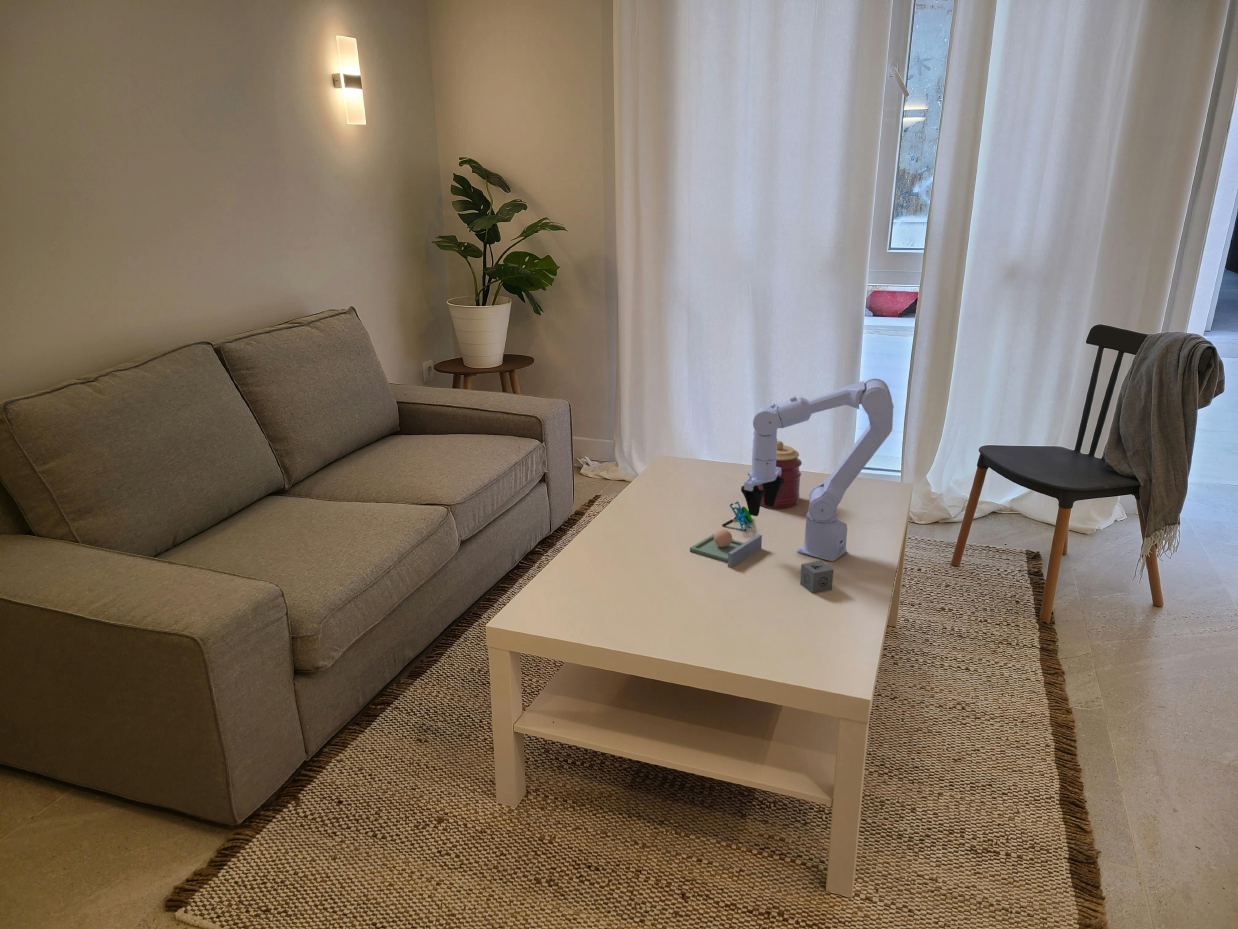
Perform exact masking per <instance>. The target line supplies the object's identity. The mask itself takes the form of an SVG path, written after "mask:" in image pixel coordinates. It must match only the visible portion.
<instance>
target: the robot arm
mask: <svg viewBox="0 0 1238 929" xmlns="http://www.w3.org/2000/svg"><path fill="white" fill-rule="evenodd" d="M860 405H862V406H861V407H862V409H863V410H864V412H865V413H866V414H867V416H868V421H869V422H868V423H869V425H868V426H867V427H866V428H865V430H864V431H863V433H862V434H861V435H860V436H859V438H858V439H857V440H856V442H855V443H853V446H852V447H851V448H850V449H849V450H848V452H847V453H846V454H845V456H844V457H843V458H842V460H841V461H840V463H839V464H838V465H837V466H836V467H835V469H834V470H833V472H832V473H831V474H830V475H829V476H828V477H827V478H825V479H824V480H823V482H822V483H820V484H819V485H817V486H816V485H815V486H814V487H813V488H812V490H811V491H810V493H809V505H808V511H807V512H806V515H805V516H806V517H805V530H804V531H805V533H804V542H803V543H804V545H802V546H801V547H800V548H797V553H798V554H799V553H800V554H803V555H807V556H812V557H813V558H814V557H815V558H816V559H817V558H818V559H822V560H824V561H825V560H826V561H828V562H832V563H833V562H835V561H836V560H837V559H838V558H840V557H841V556H843V555H845V553H846V552H847V548H846V547H847V539H848V524H847V523H846V522H844V521H843V520H842V521H841V520H840V519H839V518H838V515H837V514H838V513H837V508H838V506H839V504H840V503H841V501H842V499H843V498H844V495H845V493H846V491H847V490H848V488H849V487H850V486H851V484H852V483H853V482H854V481H855V479H856V478H857V477H858V475H859V474H860V473H861V472H862V470H863V469H864V468H865V466H866V465H867V464H868V463H869V461H870V460H871V459H872V458H873V457H874V455H875V454H876V452H877V451H878V450H879V449H880V447H881V446H882V445H883V443H885V441H887V440H886V439H887V438H889V436H890V434H891V433H892V432H893V426H894V424H893V422H894V420H893V419H894V403H893V400H892V395H891V392H890V388H889V386H888V384H887V383H886V382H885V381H884V380H882V379H880V378H870V379H868V380H865V381H864V380H863V381H857V382H854V383H852V384H849V385H847V386H844V387H841V388H838V389H835V390H833V391H830V392H827V393H825V394H822V395H819V396H816V397H813V398H811V399H807V398H805V397H803V396H800V397H796V395H794V396H791V397H789V400H787V401H784V402H781V403H776V404H775V403H771V404H770V405H769V406H762V407H760V408H759V409H758V410H756V412H755V414H754V418H753V419H752V420H753V421H752V426H753V429H754V430H753V438H752V449H751V450H752V452H751V453H752V454H751V455H752V456H751V470H749V471H747V474H746V475H747V476H748V478H746V481H744V483H743V485H742V486H741V487H740V490H741V493H742V495H743V496H744V500H745V502H746V505H747V510H748V511H749V515H751V516H753V517H758V516H759V513H760V509H761V505H760V504H761V500H762V497H763V495H764V503H765V506H769V507H773V506H774V504H775V500H776V497H777V494H778V491H779V489H780V487H781V486H782V484H783V483H784V479H783V478H780V477H778V476H781V468H779V467H776V456H777V441H778V438H777V436H778V434H777V432H778V429H785V428H788V427H791V426H795V425H797V424H801V423H804V422H808V421H809V420H810V418H811V416H812V415H813V414H816V413H819V412H823V411H826V410H827V411H828V410H830V409H834V408H839V407H842V406H849V407H852V408H854V409H856V410H859V409H860ZM760 484H762V485H763V489H764V491H763V490H759V488H758V486H759V485H760Z"/></svg>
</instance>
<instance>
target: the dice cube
mask: <svg viewBox="0 0 1238 929" xmlns="http://www.w3.org/2000/svg"><path fill="white" fill-rule="evenodd" d="M800 567H801V569H800V580H799V585H800V586H802V587H803V588H804V589H805V590H807V591H808V592H809V593H811V594H818V593H823V592H828V591H832V590H833V581H834V568H832V567H831V566H829V565H828V564H827V563H825V562H824V561H822V560H817V561H812V562H811V561H810V562H806V563H801V566H800Z"/></svg>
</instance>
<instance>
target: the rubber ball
mask: <svg viewBox="0 0 1238 929" xmlns="http://www.w3.org/2000/svg"><path fill="white" fill-rule="evenodd" d="M714 534H715V535H714V542H715V544H716V545H717V546H719V547H722V548H724V547H727V546H729V545H730V544H731V542H732V539H733V535H732V533H731V531H729V530H728V529H725V528H721V529H717V531H716V532H715V533H714Z"/></svg>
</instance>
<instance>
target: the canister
mask: <svg viewBox="0 0 1238 929" xmlns="http://www.w3.org/2000/svg"><path fill="white" fill-rule="evenodd" d="M799 456H800V453H799V451H797V450H795V449H794V448H793V447H792V446H789V445H784V442H782V440H777V456H776V467H779V468H781V476H778V477H780V478H783V479H784V483H783V484H782V486H781V487H780V489H779V491H778V494H777V497H776V500H775V504H774V506H773V507H769V506H765V503H764V495H763V497H762V500H761V504H760V507H764V508H768V507H769V508H768V509H788V507H789V508H792V506H793V507H795V506H796V505H797V504H798V503H799V500H800V483H801V476H802V473H801V471H800V467H801V465H802V463H803V462H802V460H801V459H800V458H799ZM758 488H759V490H763V491H764V489H763V485H762V484H760V485H759V486H758Z"/></svg>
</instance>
